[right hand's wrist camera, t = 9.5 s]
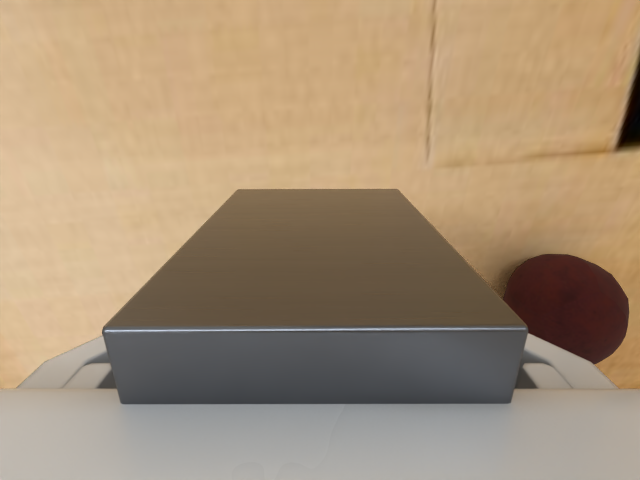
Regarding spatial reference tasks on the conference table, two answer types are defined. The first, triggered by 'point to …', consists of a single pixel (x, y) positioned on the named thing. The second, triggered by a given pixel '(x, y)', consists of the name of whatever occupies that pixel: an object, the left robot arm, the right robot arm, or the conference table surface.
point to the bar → (316, 310)
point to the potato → (570, 304)
